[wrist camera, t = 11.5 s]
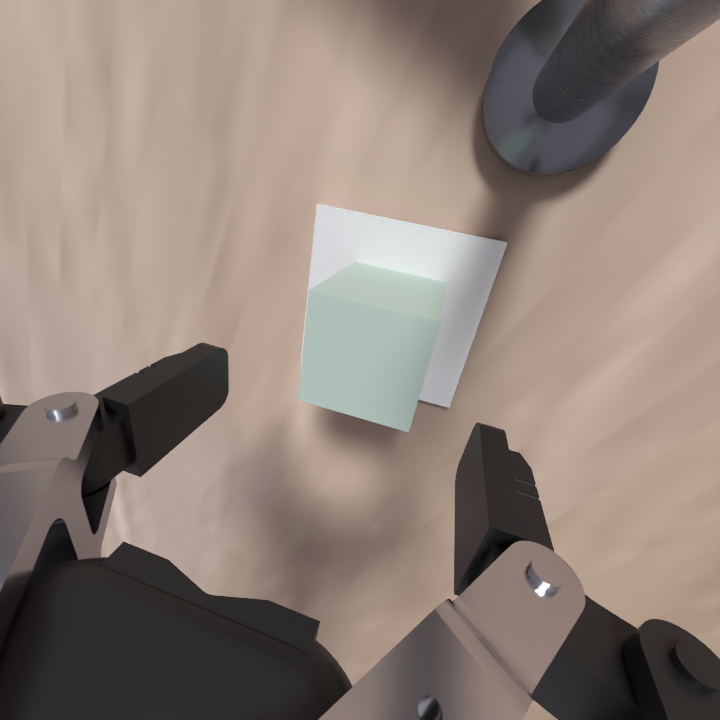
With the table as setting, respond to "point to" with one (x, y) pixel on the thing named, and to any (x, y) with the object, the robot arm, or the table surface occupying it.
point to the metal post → (580, 76)
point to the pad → (418, 257)
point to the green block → (370, 343)
